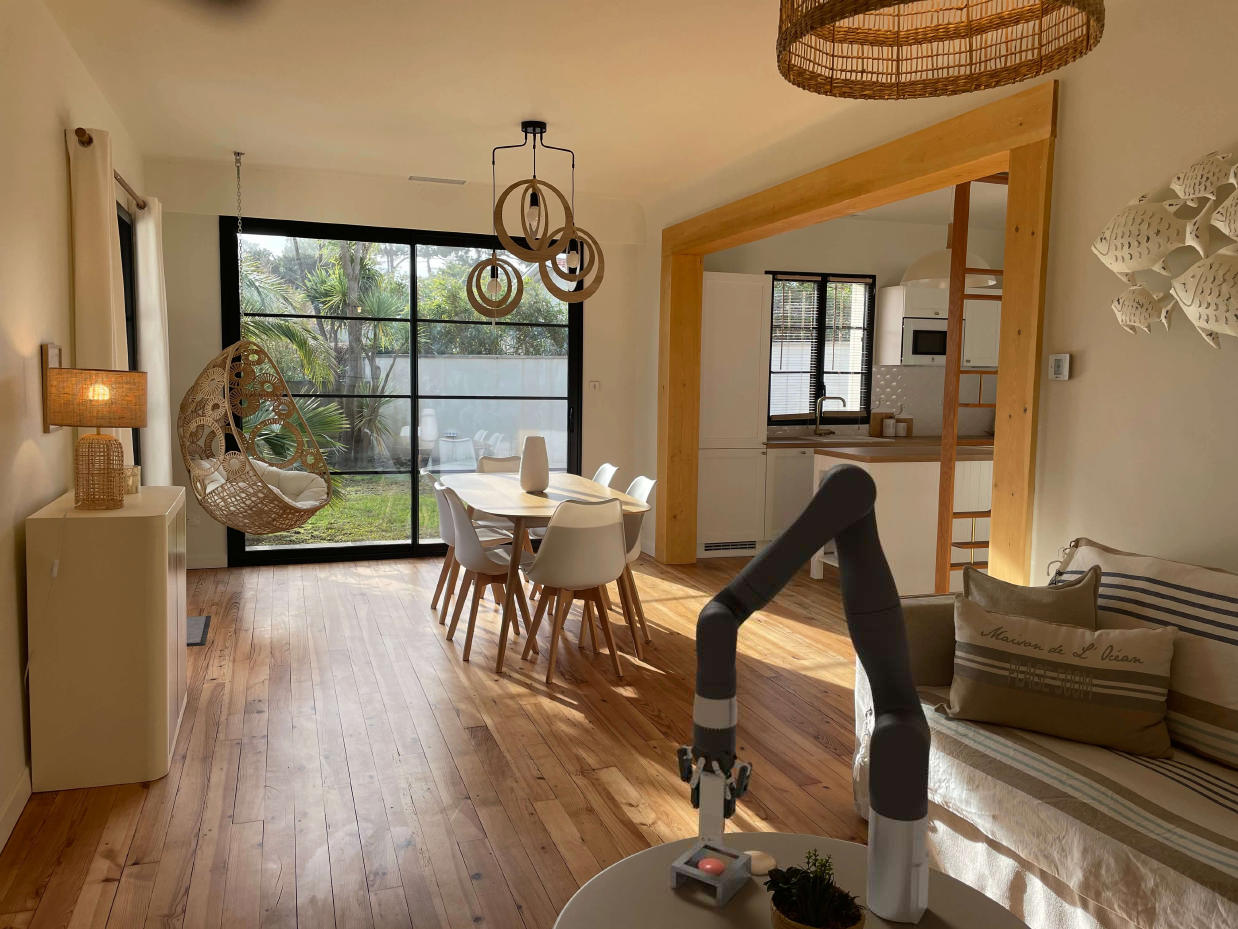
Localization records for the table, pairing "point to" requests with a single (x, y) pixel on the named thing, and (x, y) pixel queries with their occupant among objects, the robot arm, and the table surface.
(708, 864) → the button
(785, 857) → the table surface
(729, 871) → the grey square frame
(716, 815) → the skincare box
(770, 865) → the coaster
